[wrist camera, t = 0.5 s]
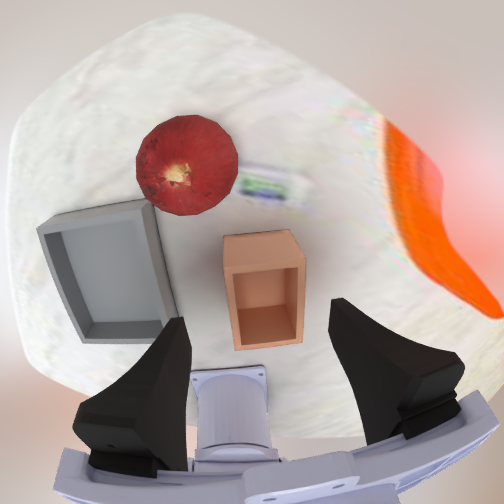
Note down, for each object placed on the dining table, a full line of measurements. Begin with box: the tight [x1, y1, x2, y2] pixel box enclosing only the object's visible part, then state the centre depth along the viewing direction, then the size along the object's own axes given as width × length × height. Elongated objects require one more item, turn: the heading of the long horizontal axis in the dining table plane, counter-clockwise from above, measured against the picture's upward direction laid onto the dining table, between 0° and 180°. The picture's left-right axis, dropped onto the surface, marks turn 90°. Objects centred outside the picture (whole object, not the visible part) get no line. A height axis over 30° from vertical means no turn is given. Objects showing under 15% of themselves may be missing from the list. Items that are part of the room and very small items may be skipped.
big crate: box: [36, 198, 179, 344], centre depth 20 cm, size 11×9×3 cm
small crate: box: [223, 230, 306, 351], centre depth 20 cm, size 7×5×5 cm
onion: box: [136, 115, 238, 216], centre depth 15 cm, size 6×6×8 cm
